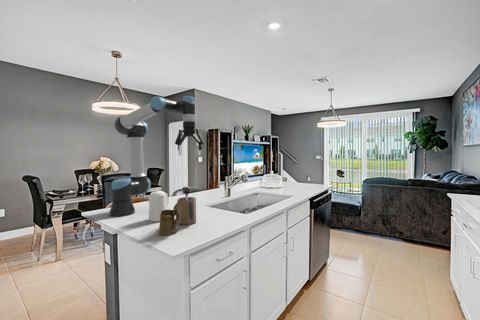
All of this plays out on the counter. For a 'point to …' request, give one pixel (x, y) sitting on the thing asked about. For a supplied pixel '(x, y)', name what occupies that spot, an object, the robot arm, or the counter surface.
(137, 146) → the robot arm
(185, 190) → the plunger
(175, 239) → the counter surface
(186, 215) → the press carafe
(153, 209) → the coffeepot
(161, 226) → the wooden mug
